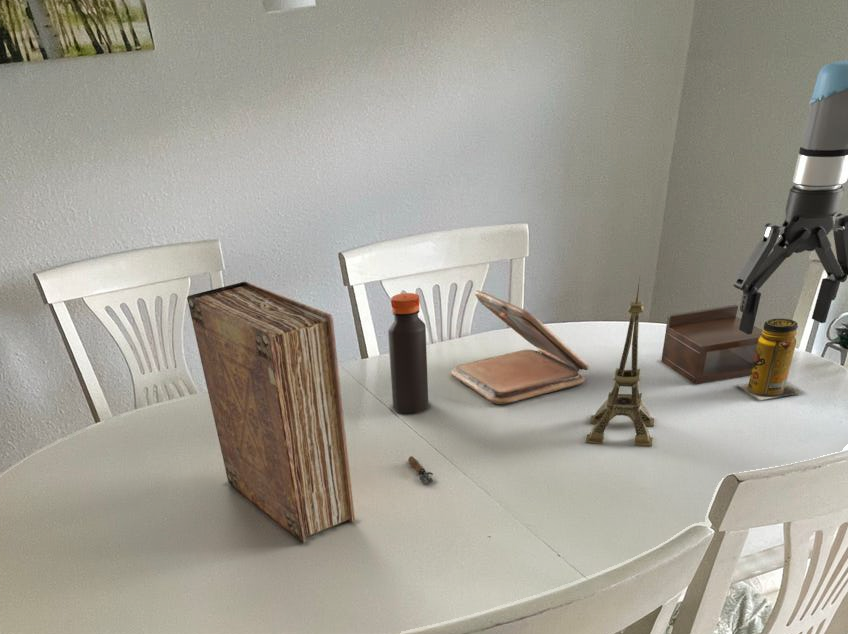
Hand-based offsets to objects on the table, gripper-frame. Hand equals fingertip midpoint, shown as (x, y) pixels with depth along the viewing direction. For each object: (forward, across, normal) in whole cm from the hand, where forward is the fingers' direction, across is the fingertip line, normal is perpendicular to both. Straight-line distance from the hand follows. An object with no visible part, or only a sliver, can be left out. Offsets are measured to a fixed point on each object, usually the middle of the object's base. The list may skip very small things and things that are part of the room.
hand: (782, 326), depth 134 cm
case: (+12, +39, -23) cm, 47 cm away
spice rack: (+11, +3, -14) cm, 18 cm away
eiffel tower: (+12, +31, +6) cm, 34 cm away
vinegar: (+12, +62, -18) cm, 65 cm away
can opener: (+12, +67, +9) cm, 68 cm away
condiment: (+12, -1, 0) cm, 12 cm away
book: (+12, +89, +11) cm, 90 cm away
